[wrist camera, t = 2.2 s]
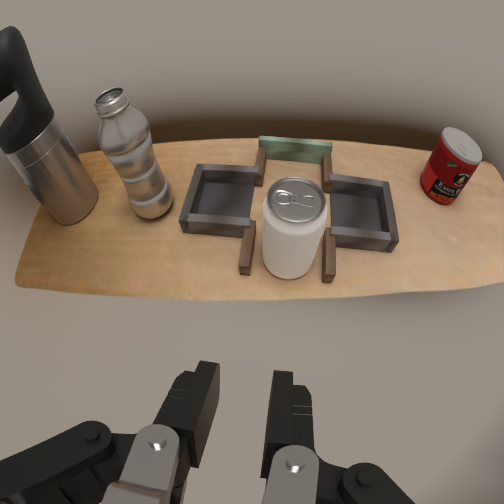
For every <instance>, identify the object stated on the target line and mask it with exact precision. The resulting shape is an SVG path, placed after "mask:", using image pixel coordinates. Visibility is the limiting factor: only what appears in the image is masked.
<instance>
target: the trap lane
mask: <svg viewBox="0 0 504 504" xmlns="http://www.w3.org/2000/svg"><path fill="white" fill-rule="evenodd" d="M332 147H333V146H332V143H330V142H322V141H314V140H304V139H294V138H283V137H269V136H259V148H258V154H257V160H256V166H239V165H218V164H197V165H196V168H195V171H194V174H193V177H192V180H191V183H190V186H189V189H188V192H187V195H186V198H185V201H184V204H183V207H182V210H181V214H180V217H179V223H180V225H181V228H182V230H183V233H193V234H205V235H217V236H228V237H239V238H243V243H242V249H241V255H240V261H239V270H240V274H241V275H250V271H251V264H252V257H253V249H254V242H255V235H256V221H254V220H251V218H249V216H250V210H251V204H252V198H253V192H254V186H260V187H262V186H263V179H264V172H265V165H266V159H276V160H288V161H298V162H308V163H317V164H321V167H322V191H323V192H324V193H330V203H331V228H327V227H326V229H325V232H324V235H323V260H322V282H324V283H332V281H333V279H334V277H335V275H336V247H343V248H353V249H363V250H372V251H382V252H392V251H393V249H394V248H395V246H396V245H397V244H398V242H399V237H398V231H397V224H396V218H395V212H394V207H393V201H392V196H391V191H390V186H389V182H386V181H380V180H373V179H367V178H360V177H353V176H345V175H338V174H332V160H331V152H332Z"/></svg>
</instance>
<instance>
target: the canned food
mask: <svg viewBox="0 0 504 504" xmlns="http://www.w3.org/2000/svg"><path fill="white" fill-rule="evenodd" d="M481 159H482V152H481V150H480V148H479V147H478V145H477V144H476V143H475V141H474V140H472V138H470V137H469V136H468V135H467V134H465V133H464V132H462V131H460V130H458V129H456V128H452V127H448V128H445V129H444V130H443V132H442V133H441V136H440V138H439V139H438V142H437V144H436V146H435V148H434V150H433V152H432V154H431V156H430V158H429V160H428V162H427V164H426V166H425V168H424V170H423V172H422V174H421V185H422V188H423V190H424V191H425V193H426V194H427V195H428V196H429V197H430V198H431V199H432V200H434V201H435V202H437V203H440V204H445V205H446V204H450V203H452V202H453V201H454V200H455V199H456V198H457V196H458V195H459V194H460V192H461V191H462V189H463V188H464V186H465V185H466V183H467V182H468V181H469V179H470V178H471V176H472V175H473V173H474V172H475V170H476V168H477V167H478V165H479V164H480V162H481Z"/></svg>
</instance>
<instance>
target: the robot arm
mask: <svg viewBox="0 0 504 504" xmlns="http://www.w3.org/2000/svg"><path fill="white" fill-rule="evenodd" d="M14 91H17V93H18V95H19V98H18V100H17V102H16V104H15V106H14V108H13V109H12V111H11V112H10V114H9V115H8V116H7V118H6V119H5V120H4V122H3V123H2V125H1V127H0V147H1V149H2V150H3V152H4V153H5V154H6V156H7V157H8V159H9V160H10V162H11V163H12V164H13V166H14V167H15V168H16V170H17V171H18V172H19V174H20V175H21V176H22V178H23V179H24V180H25V184H26V186H27V187H28V188H29V189H30V191H31V192H32V193H33V194H34V196H35V197H36V198H37V199H38V201H39V202H40V203H41V204H42V206H43V207H44V208H45V209H46V210H47V211H48V213H49V214H50V215H51V216H52V217H54V218H55V219H56V220H57V221H58V222H59V223H60V224H63V225H71V224H74V223H77V222H78V221H80V220H82V219H83V218H84V217H86V216H87V215H88V214H89V213H90V211H91V210H92V209H93V207H94V205H95V204H96V201H97V198H98V190H97V187H96V186H95V184H94V182H93V181H92V179H91V177H90V176H89V174H88V172H87V171H86V169H85V167H84V165H83V164H82V162H81V160H80V159H79V157H78V155H77V153H76V152H75V150H74V148H73V147H72V145H71V143H70V141H69V139H68V137H67V136H66V134H65V132H64V130H63V128H62V126H61V124H60V123H59V121H58V119H57V117H56V115H55V113H54V111H53V109H52V107H51V105H50V103H49V101H48V99H47V97H46V95H45V93H44V91H43V89H42V86H41V84H40V82H39V80H38V77H37V75H36V72H35V70H34V67H33V64H32V61H31V58H30V55H29V52H28V49H27V46H26V44H25V41H24V39H23V37H22V35H21V33H20V31H19V30H18V29H17V28H15V27H13V26H9V27H6V28H4V29H3V30H1V31H0V102H1V101H2V100H3V99H4V98H6V97H7V96H9V95H10V94H11V93H13V92H14ZM219 388H220V365H219V363H214V362H207V361H200V362H199V364H198V366H197V368H196V370H195V372H190V371H184V372H183V373H182V374H180V375H179V376H178V377H176V379H175V381H174V383H173V385H172V387H171V389H170V391H169V393H168V396H166V399H165V401H164V402H163V404H162V406H161V408H160V410H159V412H158V414H157V416H156V418H155V420H154V422H153V424H152V425H149V426H146V427H144V428H142V429H141V430H140V431H139V432H138V433H137V434H117V433H111V431H110V430H109V428H108V427H107V426H106V425H105V424H103V423H101V422H98V421H86V422H83V423H81V424H79V425H77V426H75V427H73V428H71V429H69V430H67V431H65V432H63V433H60V434H58V435H56V436H54V437H52V438H50V439H48V440H46V441H44V442H42V443H39V444H37V445H35V446H33V447H31V448H28V449H26V450H24V451H22V452H19V453H17V454H15V455H13V456H10V457H8V458H5V459H3V460H1V461H0V504H99V503H100V502H102V503H101V504H183V499H184V494H185V489H186V483H187V475H188V472H189V469H190V467H195V468H199V465H200V461H201V458H202V455H203V451H204V448H205V445H206V442H207V438H208V435H209V432H210V428H211V425H212V422H213V419H214V415H215V412H216V408H217V405H218V400H219V390H220V389H219ZM260 478H267V479H266V488H265V493H264V497H263V501H262V504H415V503H414V502H413V501H412V500H411V499H410V498H409V497H408V496H407V495H406V494H405V493H404V492H403V491H402V490H401V489H400V488H399V487H398V486H397V485H396V484H395V482H394V481H393V480H392V479H391V478H390V477H389V476H388V475H387V474H386V473H385V472H384V471H383V470H382V469H381V468H380V467H378V466H376V465H374V464H371V463H358V464H355V465H352V466H351V467H349V468H348V469H347V468H342V467H339V466H335V465H331V464H329V463H326V462H324V461H323V460H322V459H321V458H319V456H318V455H317V454H316V452H315V449H314V436H313V417H312V400H311V394H310V392H309V391H308V389H307V388H306V386H302V385H293V372H289V371H277V370H274V373H273V379H272V387H271V393H270V400H269V408H268V416H267V426H266V435H265V443H264V452H263V460H262V469H261V477H260Z"/></svg>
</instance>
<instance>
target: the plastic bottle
mask: <svg viewBox="0 0 504 504" xmlns="http://www.w3.org/2000/svg"><path fill="white" fill-rule="evenodd" d="M94 103H95V107H96V109H97V114H98V116H99V118H101V119H102V120H101V124H100V127H99V132H98V141H99V146H100V148H101V149H102V151H103V152H104V154H105V155H106V156H107V158H108V159H109V160H110V162H111V163H112V164H113V166H114V167H115V169H116V171H117V172H118V174H119V175H120V177H121V179H122V181H123V183H124V186H125V188H126V191H127V193H128V198H129V201H130V204H131V207H132V209H133V210H134V211H135V212H136V213H137V214H138V215H139V216H141V217H143V218H149V219H152V218H157V217H160V216H161V215H163V214H164V213H165V212H166V211H167V210H168V209H169V207H170V205H171V203H172V200H173V194H172V188H171V185H170V183H169V182H168V180H167V178H166V177H165V176H164V175H163V173H162V171H161V169H160V167H159V165H158V163H157V160H156V157H155V153H154V150H153V146H152V140H151V134H150V129H149V124H148V121H147V119H146V118H145V117H144V115H143V114H142V113H140V112H139V111H137V110H136V109H134V108H132V107H130V106H129V103H130V102H129V99H128V97H127V96H126V92H125V90H124V88H122V87H115V88H111V89H109V90H107V91H105V92H103V93H101V94H100V95H99V96H98V97H97V98H96V99H95V101H94Z"/></svg>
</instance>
